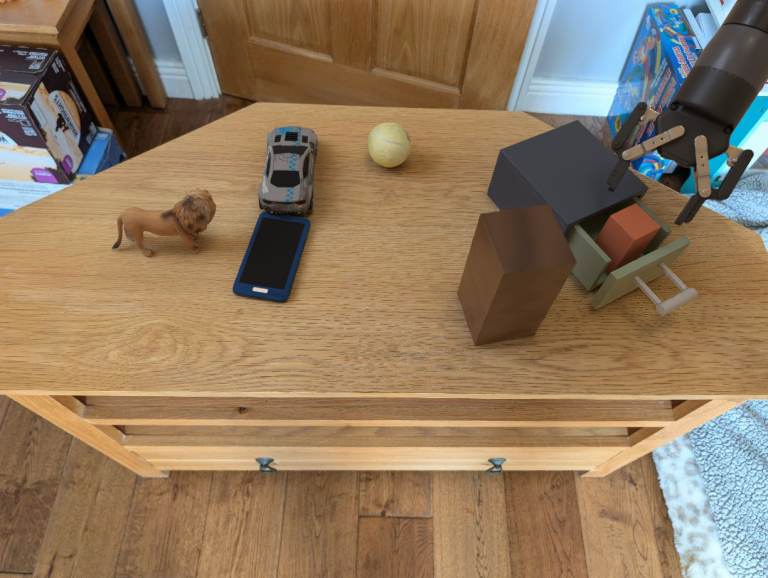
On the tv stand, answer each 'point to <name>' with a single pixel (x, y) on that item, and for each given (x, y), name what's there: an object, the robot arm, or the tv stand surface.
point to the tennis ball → (389, 144)
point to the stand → (513, 273)
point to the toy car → (289, 171)
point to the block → (626, 236)
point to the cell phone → (272, 257)
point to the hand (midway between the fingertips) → (643, 207)
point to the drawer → (632, 274)
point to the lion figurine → (169, 221)
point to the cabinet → (561, 176)
